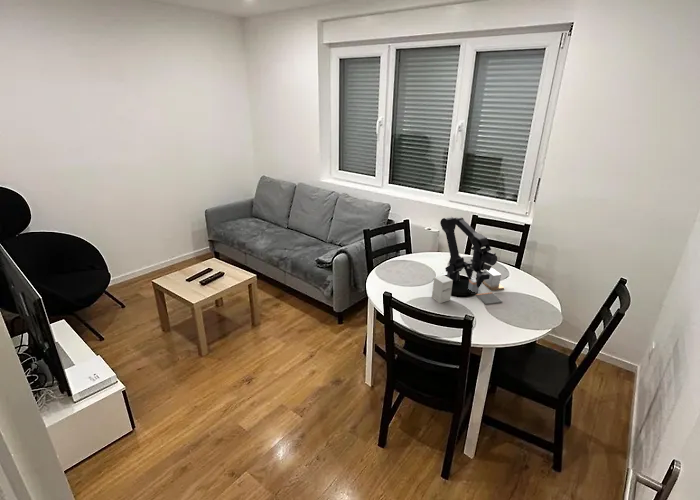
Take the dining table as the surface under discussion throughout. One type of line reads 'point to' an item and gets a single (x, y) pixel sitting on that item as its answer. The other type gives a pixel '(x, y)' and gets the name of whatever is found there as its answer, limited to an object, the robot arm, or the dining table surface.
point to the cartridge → (473, 285)
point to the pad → (488, 298)
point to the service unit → (493, 280)
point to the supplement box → (442, 288)
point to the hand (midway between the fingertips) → (473, 283)
